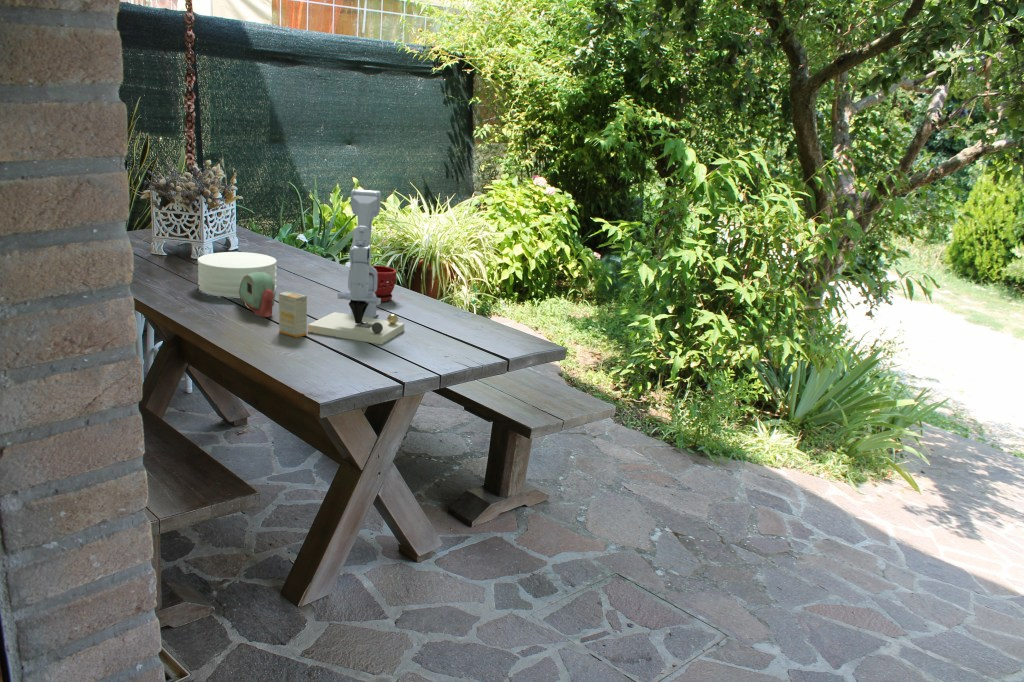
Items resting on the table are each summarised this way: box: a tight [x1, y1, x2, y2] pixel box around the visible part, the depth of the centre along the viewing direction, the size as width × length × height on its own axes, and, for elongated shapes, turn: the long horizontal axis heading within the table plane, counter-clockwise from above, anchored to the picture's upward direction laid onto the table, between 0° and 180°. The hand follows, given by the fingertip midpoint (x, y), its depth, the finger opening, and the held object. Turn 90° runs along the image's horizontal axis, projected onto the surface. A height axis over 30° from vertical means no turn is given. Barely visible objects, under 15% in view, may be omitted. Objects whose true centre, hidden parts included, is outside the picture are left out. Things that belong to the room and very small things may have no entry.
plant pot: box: [369, 265, 397, 303], centre depth 324 cm, size 13×13×12 cm
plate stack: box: [197, 251, 277, 297], centre depth 322 cm, size 28×28×12 cm
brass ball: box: [386, 313, 399, 324], centre depth 285 cm, size 4×4×4 cm
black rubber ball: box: [372, 322, 383, 333], centre depth 274 cm, size 4×4×4 cm
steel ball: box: [359, 322, 370, 328], centre depth 283 cm, size 4×4×4 cm
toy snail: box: [239, 272, 276, 318], centre depth 296 cm, size 25×8×14 cm, turn 33°
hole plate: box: [307, 311, 405, 345], centre depth 283 cm, size 18×26×2 cm
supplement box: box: [278, 291, 308, 338], centre depth 274 cm, size 8×5×13 cm, turn 55°
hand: (358, 322), depth 283 cm, fingers closed
